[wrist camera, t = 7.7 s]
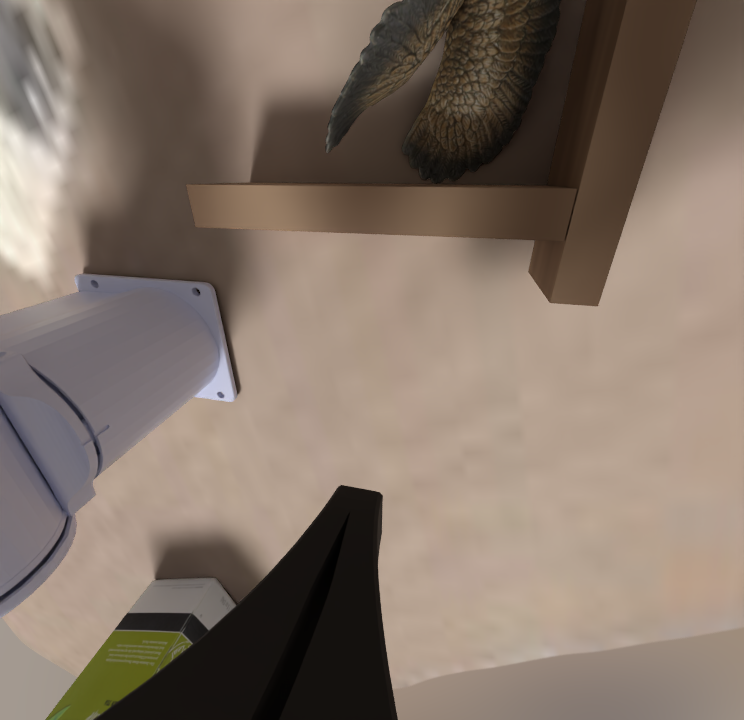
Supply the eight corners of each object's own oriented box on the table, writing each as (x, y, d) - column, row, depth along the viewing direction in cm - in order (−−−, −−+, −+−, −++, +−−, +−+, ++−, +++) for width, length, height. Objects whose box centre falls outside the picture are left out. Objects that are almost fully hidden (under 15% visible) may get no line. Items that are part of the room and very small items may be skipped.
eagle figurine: (321, -177, 10) (296, 158, 13) (459, -740, 4) (357, 109, 7) (513, -53, 13) (458, 198, 16) (755, -280, 7) (599, 187, 10)
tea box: (284, 654, 41) (205, 868, 28) (221, 649, 45) (127, 837, 32) (216, 574, 36) (81, 793, 23) (151, 576, 40) (4, 766, 27)
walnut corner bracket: (260, 257, 18) (206, 278, 15) (185, -260, 11) (34, -499, 7) (563, 273, 16) (597, 306, 12) (745, -414, 8) (1007, -959, 4)
